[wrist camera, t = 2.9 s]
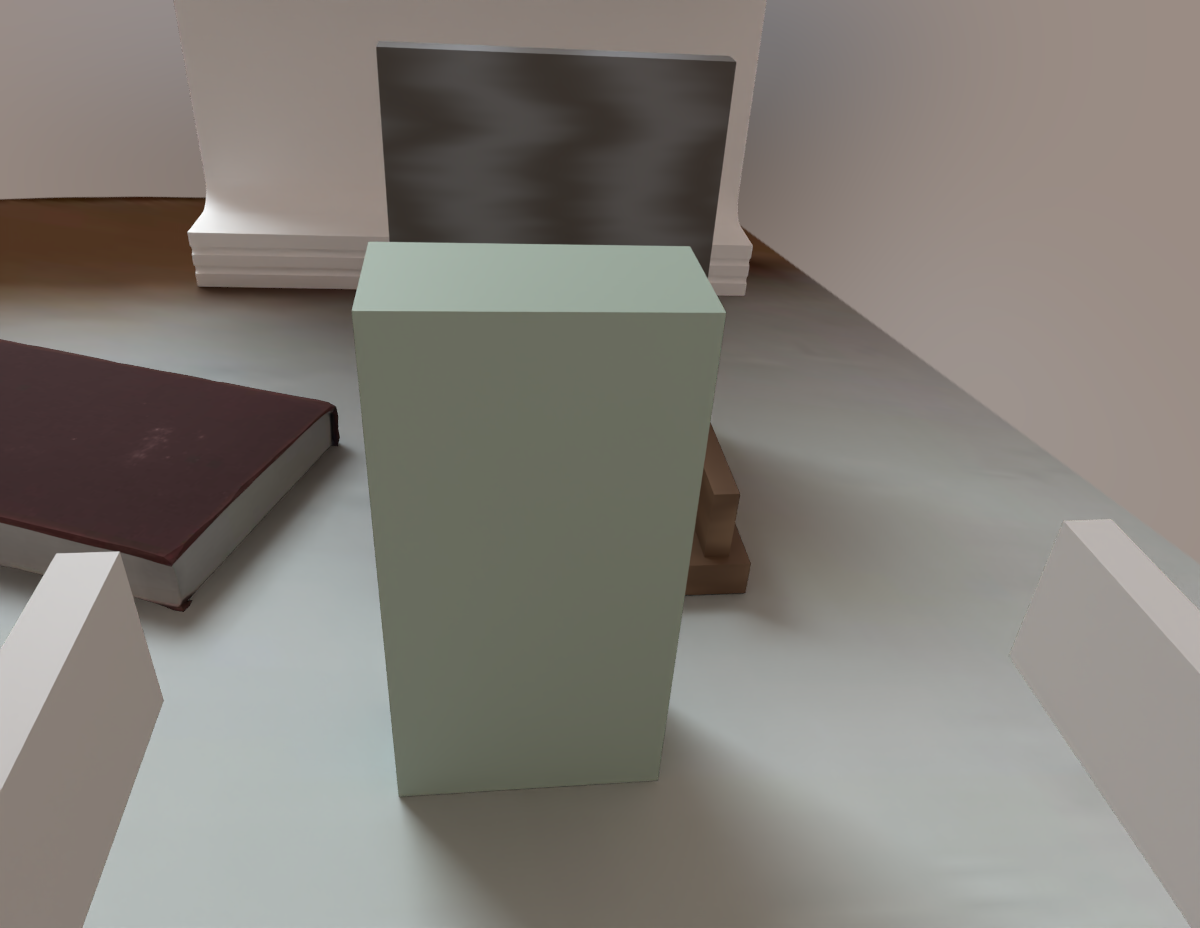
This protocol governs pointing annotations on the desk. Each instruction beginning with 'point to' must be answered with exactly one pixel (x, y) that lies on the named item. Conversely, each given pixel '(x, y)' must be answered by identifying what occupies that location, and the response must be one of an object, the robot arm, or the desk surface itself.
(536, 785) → the grey-green tall block
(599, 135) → the slot board
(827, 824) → the desk surface
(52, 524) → the book
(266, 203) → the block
